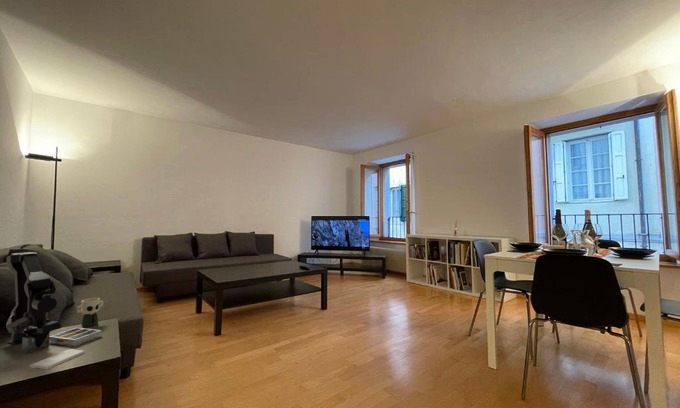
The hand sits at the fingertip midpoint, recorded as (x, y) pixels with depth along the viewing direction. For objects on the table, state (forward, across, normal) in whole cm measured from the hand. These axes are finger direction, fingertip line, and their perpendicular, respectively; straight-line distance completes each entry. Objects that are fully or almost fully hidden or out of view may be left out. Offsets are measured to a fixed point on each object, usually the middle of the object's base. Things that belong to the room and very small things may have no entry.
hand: (35, 346), depth 116 cm
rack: (+1, +6, +10) cm, 12 cm away
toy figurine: (+1, -6, +24) cm, 25 cm away
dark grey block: (+1, 0, 0) cm, 1 cm away
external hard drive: (+2, +20, -4) cm, 21 cm away
